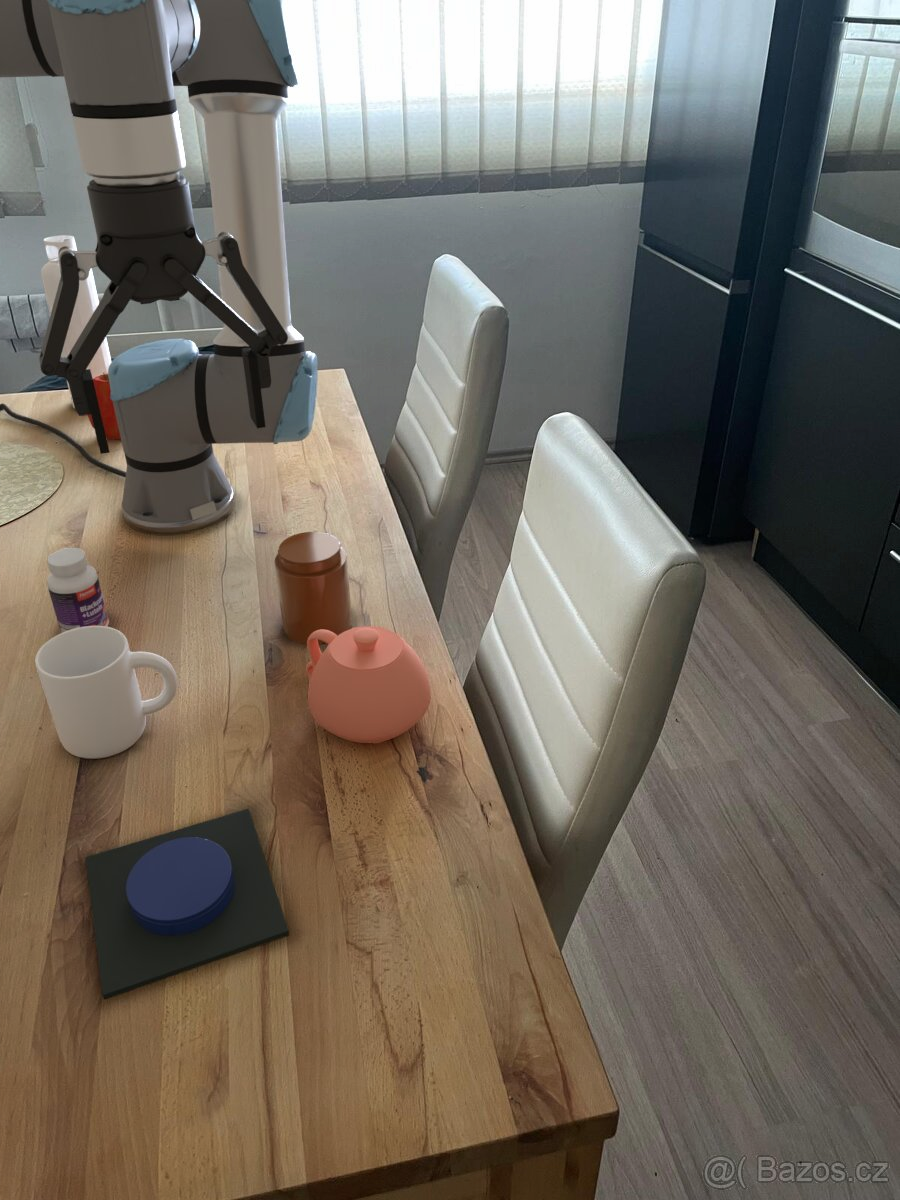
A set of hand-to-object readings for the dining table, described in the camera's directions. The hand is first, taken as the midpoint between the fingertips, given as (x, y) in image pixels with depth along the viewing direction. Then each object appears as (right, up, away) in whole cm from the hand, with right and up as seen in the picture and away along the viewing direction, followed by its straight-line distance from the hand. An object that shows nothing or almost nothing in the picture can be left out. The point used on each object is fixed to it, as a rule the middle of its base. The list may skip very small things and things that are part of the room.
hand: (182, 434), depth 82 cm
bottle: (-40, +20, +82) cm, 94 cm away
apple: (-31, +13, +71) cm, 79 cm away
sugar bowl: (+15, -26, +12) cm, 33 cm away
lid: (+2, -37, -8) cm, 38 cm away
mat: (+2, -39, -7) cm, 40 cm away
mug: (-9, -28, +10) cm, 31 cm away
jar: (+8, -18, +25) cm, 32 cm away
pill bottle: (-19, -18, +25) cm, 36 cm away
